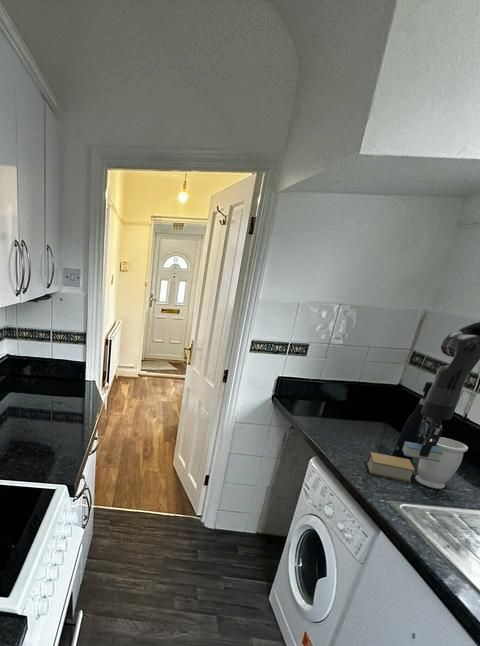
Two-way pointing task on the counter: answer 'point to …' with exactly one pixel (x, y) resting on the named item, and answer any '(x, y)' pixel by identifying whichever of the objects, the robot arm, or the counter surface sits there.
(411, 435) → the wine bottle
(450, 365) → the robot arm
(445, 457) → the jar
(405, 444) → the pocket book
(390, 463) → the big book
